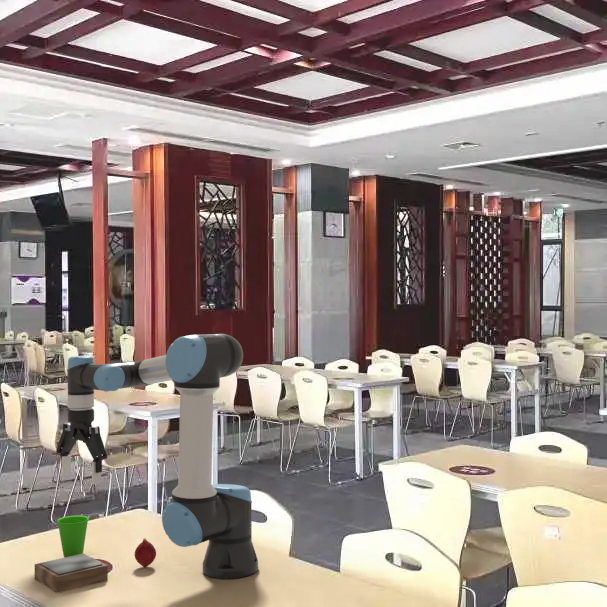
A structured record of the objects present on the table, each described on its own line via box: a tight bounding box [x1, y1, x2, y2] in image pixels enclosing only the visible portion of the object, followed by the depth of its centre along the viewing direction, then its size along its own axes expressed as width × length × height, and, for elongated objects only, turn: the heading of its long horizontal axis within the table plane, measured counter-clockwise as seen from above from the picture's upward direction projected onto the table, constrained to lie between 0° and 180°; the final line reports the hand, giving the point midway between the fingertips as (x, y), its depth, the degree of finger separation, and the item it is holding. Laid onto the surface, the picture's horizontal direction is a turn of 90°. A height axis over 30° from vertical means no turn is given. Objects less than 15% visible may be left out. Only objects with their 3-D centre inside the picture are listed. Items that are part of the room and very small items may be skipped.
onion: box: [134, 537, 157, 568], centre depth 228 cm, size 6×6×8 cm
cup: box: [56, 514, 90, 558], centre depth 237 cm, size 9×9×11 cm
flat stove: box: [34, 553, 109, 594], centre depth 218 cm, size 14×14×4 cm
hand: (81, 480), depth 242 cm, fingers open, 13 cm apart
